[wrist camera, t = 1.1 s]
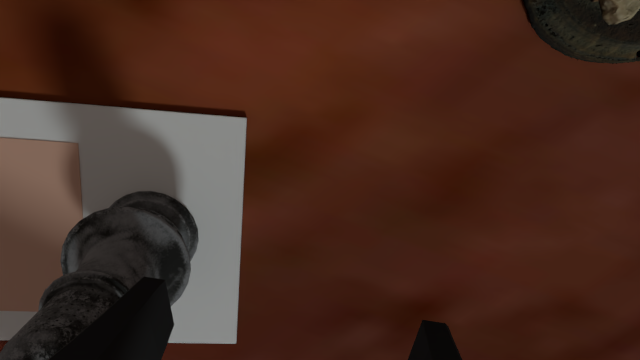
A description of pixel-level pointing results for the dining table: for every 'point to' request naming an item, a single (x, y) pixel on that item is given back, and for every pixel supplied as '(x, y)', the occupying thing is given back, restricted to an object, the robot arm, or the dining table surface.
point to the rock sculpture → (589, 28)
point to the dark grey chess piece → (109, 268)
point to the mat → (110, 185)
